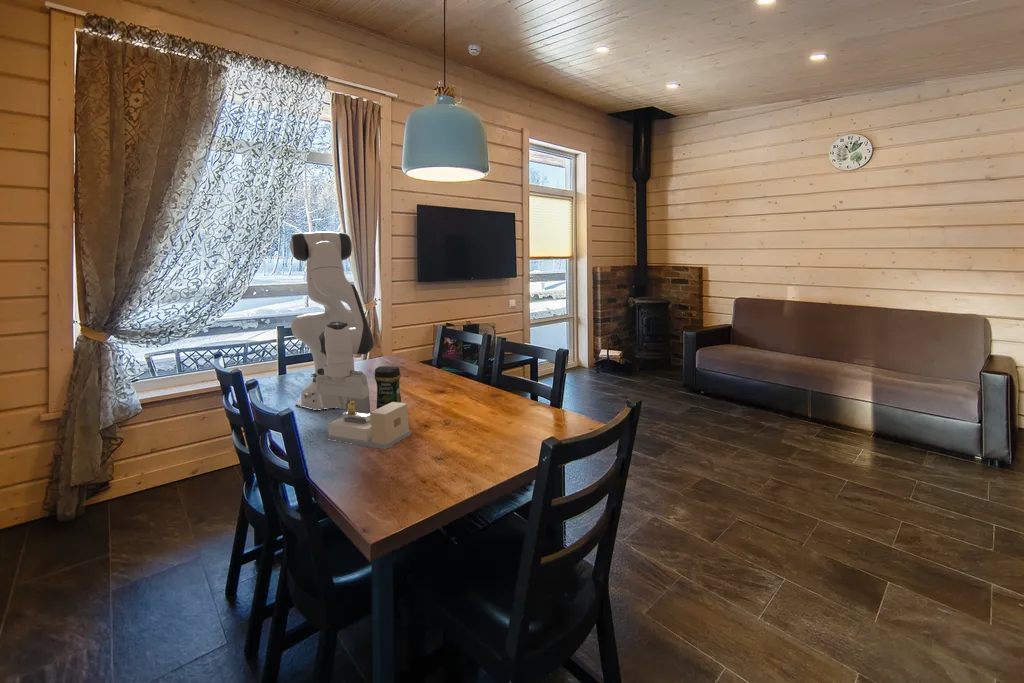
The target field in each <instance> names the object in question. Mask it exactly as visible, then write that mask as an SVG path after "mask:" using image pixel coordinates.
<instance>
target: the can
mask: <svg viewBox="0 0 1024 683" xmlns="http://www.w3.org/2000/svg"><path fill="white" fill-rule="evenodd" d="M350 401H354V402H355V411H356V412H358V413H365V414H370V412H371V404H370V402H371V400H370V394H369V395H368V397H366V398H364V399H356V398H351V400H350Z"/></svg>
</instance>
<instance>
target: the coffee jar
mask: <svg viewBox="0 0 1024 683" xmlns="http://www.w3.org/2000/svg"><path fill="white" fill-rule="evenodd" d="M400 379H401V370H400V367H399V366H394V365H393V366H390V365H386V366H385V365H379V366H377V367H376V368H375V370H374V381H375V384H376V409H378V408H380V407H383V406H385V405H387V404H389V403H391V402H398V403H403V402H402V397H401V388H400Z"/></svg>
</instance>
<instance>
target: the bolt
mask: <svg viewBox="0 0 1024 683" xmlns="http://www.w3.org/2000/svg"><path fill="white" fill-rule="evenodd" d="M347 403H348V409H347V411H346V412H343V413H341V418H342V419H344V418H351V419H358V420H365V423H366V422H368V421H370V420H371V419H370V414H365V413H358V412H356V411H355V402H354V401H350V402H347Z"/></svg>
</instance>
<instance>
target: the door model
mask: <svg viewBox="0 0 1024 683" xmlns="http://www.w3.org/2000/svg"><path fill="white" fill-rule="evenodd" d="M408 410H409V409H408V403H404V402H402V403H398V402H391V403H389V404H387V405H385V406H383V407H380V408H378V409H377V408H376V409H374V410H372V411H370V419H371V420H370V421H368V422H366V423H365V420H358V419H351V418H344V419H342V417H340V418H338V419H337V418H336V420H333V421H331V422H329V423H327V427H328V428H327V429H328V435H326V440H327V439H330V440H336V441H341V442H340V443H342V442H347V443H346V444H348V443H352V444H351V445H354V444H358V445H357V446H360V445H363V446H362V447H366V446H368V447H367V448H372V447H374V449H378V448H381V449H380V450H384V449H386V450H388V449H390V448H391V447H393V446H394V444H395V443H396V444H397V442H398V441H399V442H401V441H403V440H404V439H406V438H408V437H409V436H411V433H412V432H411V430H410V428H409V414H408ZM407 436H408V437H407ZM405 437H406V438H405ZM402 439H403V440H402ZM330 440H329V441H330ZM400 440H401V441H400ZM336 441H335V442H336ZM399 442H398V443H399ZM396 444H395V445H396ZM392 445H393V446H392ZM390 446H391V447H390ZM389 447H390V448H389ZM387 448H388V449H387Z"/></svg>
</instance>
